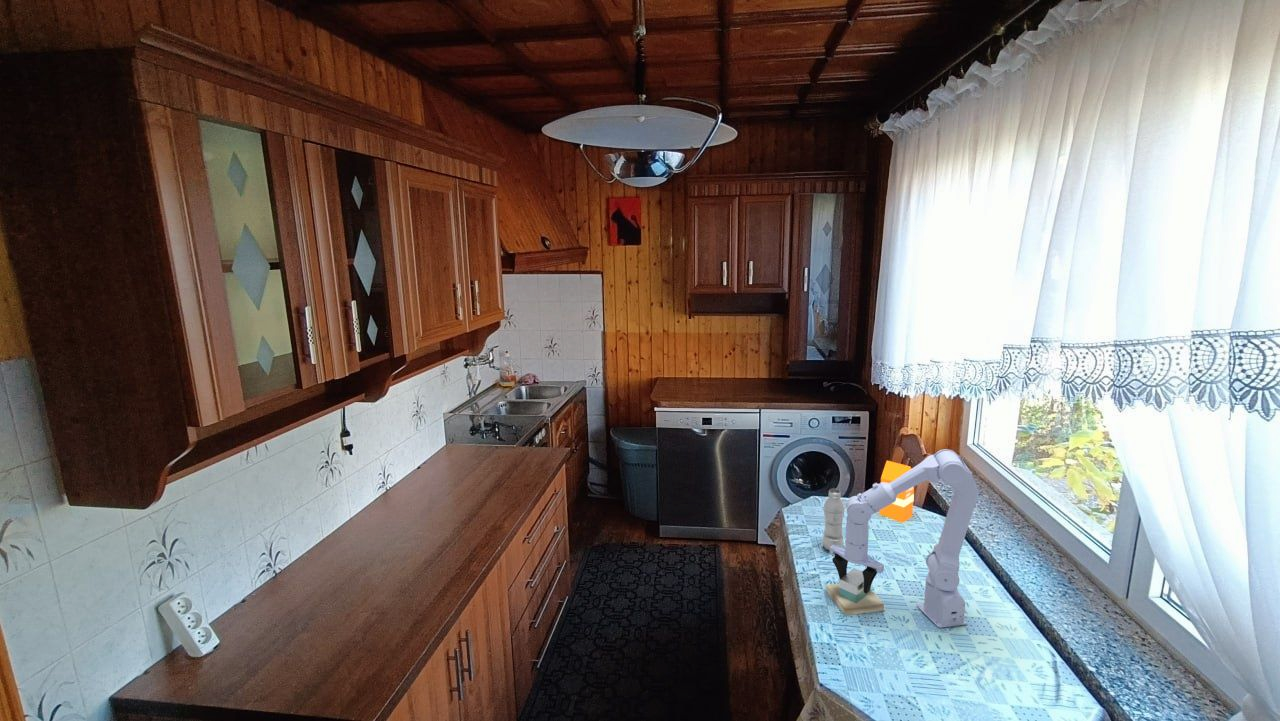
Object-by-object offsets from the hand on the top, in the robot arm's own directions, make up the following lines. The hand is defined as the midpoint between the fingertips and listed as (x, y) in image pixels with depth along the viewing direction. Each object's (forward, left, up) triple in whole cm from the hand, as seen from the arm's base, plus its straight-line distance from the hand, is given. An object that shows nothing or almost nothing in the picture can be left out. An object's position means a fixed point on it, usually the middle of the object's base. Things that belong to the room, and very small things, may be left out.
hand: (854, 586), depth 153 cm
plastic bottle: (+27, -7, -5) cm, 28 cm away
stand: (0, 0, -4) cm, 4 cm away
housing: (0, 0, -2) cm, 2 cm away
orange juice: (+45, -40, -5) cm, 60 cm away
